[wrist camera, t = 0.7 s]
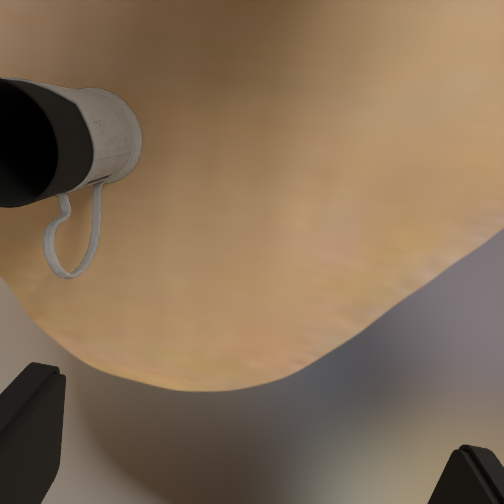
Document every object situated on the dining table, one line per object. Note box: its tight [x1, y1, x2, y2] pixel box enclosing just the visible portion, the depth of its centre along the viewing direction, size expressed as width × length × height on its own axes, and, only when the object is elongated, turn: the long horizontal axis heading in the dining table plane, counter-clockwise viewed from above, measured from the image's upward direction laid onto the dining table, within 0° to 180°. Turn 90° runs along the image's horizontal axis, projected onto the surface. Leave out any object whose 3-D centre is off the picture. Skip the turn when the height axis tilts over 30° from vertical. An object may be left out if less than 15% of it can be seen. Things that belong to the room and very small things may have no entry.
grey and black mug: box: [0, 77, 142, 279], centre depth 31 cm, size 9×14×15 cm, turn 11°
